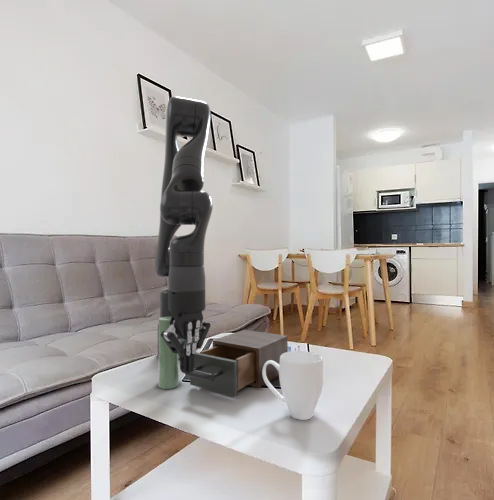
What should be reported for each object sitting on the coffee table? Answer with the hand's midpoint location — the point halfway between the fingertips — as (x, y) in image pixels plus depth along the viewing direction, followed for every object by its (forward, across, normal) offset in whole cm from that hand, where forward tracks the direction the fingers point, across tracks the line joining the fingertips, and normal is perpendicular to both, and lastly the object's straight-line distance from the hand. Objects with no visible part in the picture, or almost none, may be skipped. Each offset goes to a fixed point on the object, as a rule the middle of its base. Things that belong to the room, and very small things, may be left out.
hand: (187, 372), depth 74 cm
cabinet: (+7, -24, 0) cm, 26 cm away
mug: (+8, -10, +19) cm, 22 cm away
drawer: (+6, -12, 0) cm, 14 cm away
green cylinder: (+7, -7, -12) cm, 15 cm away
